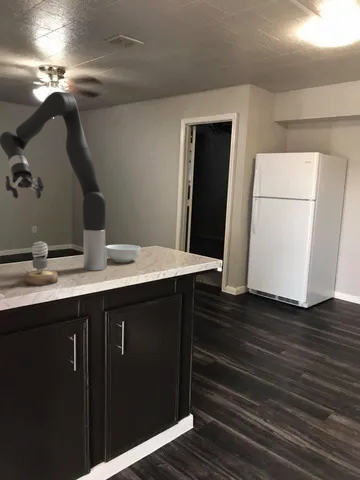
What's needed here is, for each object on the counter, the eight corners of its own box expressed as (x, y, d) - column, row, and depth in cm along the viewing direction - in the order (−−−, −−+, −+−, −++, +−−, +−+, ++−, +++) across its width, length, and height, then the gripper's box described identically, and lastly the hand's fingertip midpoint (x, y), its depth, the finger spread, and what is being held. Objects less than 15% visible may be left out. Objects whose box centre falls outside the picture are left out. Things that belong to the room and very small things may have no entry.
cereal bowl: (144, 263, 186) (144, 249, 185) (109, 265, 180) (109, 250, 179) (135, 257, 202) (135, 243, 201) (102, 258, 195) (102, 244, 194)
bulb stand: (42, 276, 156) (42, 268, 155) (64, 281, 150) (64, 272, 149) (16, 282, 145) (16, 274, 145) (38, 287, 139) (38, 278, 139)
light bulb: (50, 271, 150) (49, 240, 148) (45, 275, 144) (45, 243, 143) (35, 271, 150) (34, 240, 148) (30, 274, 144) (29, 242, 142)
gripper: (3, 161, 159) (10, 190, 152) (38, 163, 168) (47, 191, 160) (0, 174, 165) (7, 203, 157) (35, 175, 173) (44, 203, 165)
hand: (27, 197), depth 159 cm, fingers open, 8 cm apart
